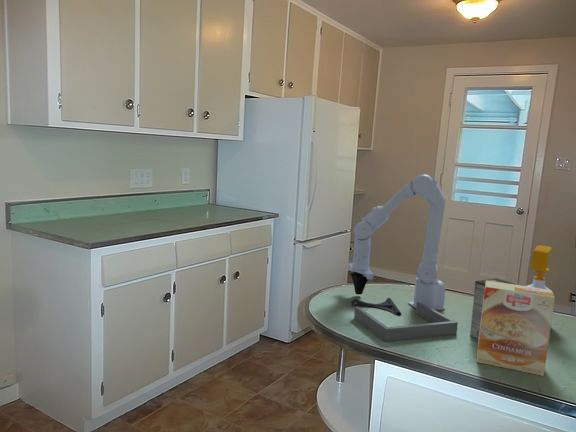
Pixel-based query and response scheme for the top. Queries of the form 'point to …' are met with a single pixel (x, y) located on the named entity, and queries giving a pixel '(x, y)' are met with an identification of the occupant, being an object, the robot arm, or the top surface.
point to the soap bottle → (540, 266)
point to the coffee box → (479, 305)
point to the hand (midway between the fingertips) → (358, 293)
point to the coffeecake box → (515, 327)
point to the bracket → (379, 305)
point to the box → (437, 328)
